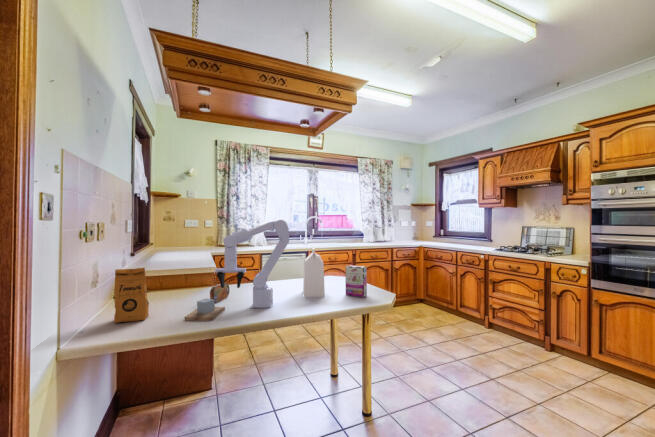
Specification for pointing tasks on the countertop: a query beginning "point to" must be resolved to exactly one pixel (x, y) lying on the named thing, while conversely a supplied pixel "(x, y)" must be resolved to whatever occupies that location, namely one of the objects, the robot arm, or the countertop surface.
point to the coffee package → (130, 295)
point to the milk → (313, 276)
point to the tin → (219, 292)
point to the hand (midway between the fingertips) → (230, 287)
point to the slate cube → (205, 306)
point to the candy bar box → (356, 281)
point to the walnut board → (204, 315)
